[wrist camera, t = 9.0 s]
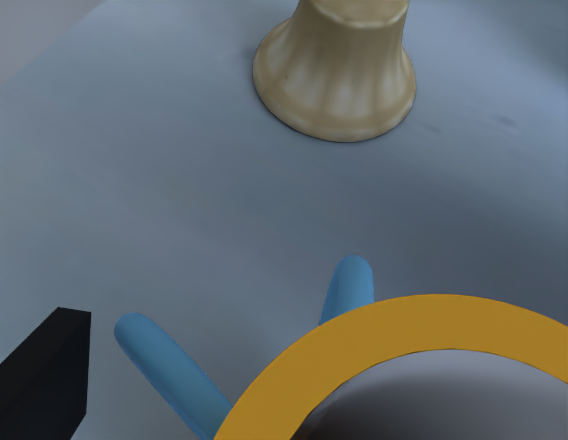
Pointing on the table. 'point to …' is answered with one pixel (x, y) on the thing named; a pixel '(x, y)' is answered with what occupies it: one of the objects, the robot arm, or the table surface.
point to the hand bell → (338, 69)
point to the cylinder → (380, 372)
